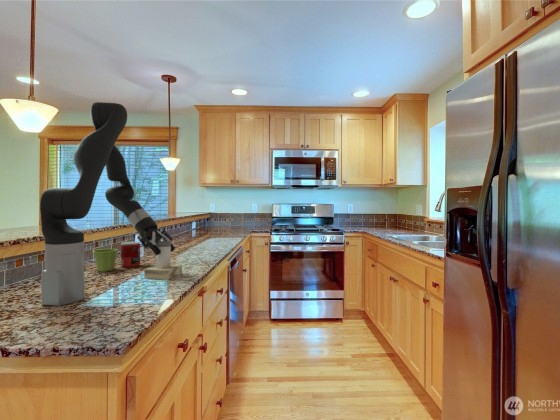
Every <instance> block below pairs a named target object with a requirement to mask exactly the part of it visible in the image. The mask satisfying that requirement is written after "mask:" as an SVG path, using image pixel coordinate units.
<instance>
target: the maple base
mask: <svg viewBox="0 0 560 420" xmlns="http://www.w3.org/2000/svg"><path fill="white" fill-rule="evenodd" d="M143 271H144V274H143V275H144V279H148V280H149V279H150V280H165V281H168V280H171V279H173V278H175V277H177V275H178V276H179V275H181V274H183V265H182V264H171V267H169V268H164V269H158V268H156V265H154V266H150V267H146V268H144V270H143Z"/></svg>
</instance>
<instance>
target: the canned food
mask: <svg viewBox="0 0 560 420" xmlns="http://www.w3.org/2000/svg"><path fill="white" fill-rule="evenodd" d="M140 265H141V242H140V241H123V242H121V243H120V267H121V268H123V269H133V268H138V267H140Z"/></svg>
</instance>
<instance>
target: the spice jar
mask: <svg viewBox="0 0 560 420" xmlns="http://www.w3.org/2000/svg"><path fill="white" fill-rule="evenodd" d="M171 243H172V241H171V242H170V241H165V240H164V241H161V242H155V245H156V246H157V247H158V248H159V249H160V251H161V253H160V254H159V255H156V254H155V266H156V268H158V269H164V268H169V267H171V265H172V264H171V262H172V261H171V260H172V259H171V258H172V257H171V256H172V255H171V254H172V252H171Z"/></svg>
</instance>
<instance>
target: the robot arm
mask: <svg viewBox="0 0 560 420" xmlns="http://www.w3.org/2000/svg"><path fill="white" fill-rule="evenodd" d="M90 117H91V120H92V121H91V122H92V125H93V127H94V131H92V132H91V133H89V134H87V135H86V136H84V138H82V139H81V141H80V142H79V143H78V145H77V147H76V149H75V151H74V153H73V161H74V164H75V165H74V166H75V168H76V170H77V172H78V174H79V178H78V181H77V183H76V184H75V186H74V187H52V188H51V187H50V188H47V189H45V190H44V191H43V193H42V195H41V196H40V200H39V201H40V202H39V211H40V223H41V226H40V227H41V232H42V233H41V234H42V236H43V238H44V270H42V271H41V273H40V274H41V275H40V276H41V279H40V281H41V285H40V286H41V290H40V291H41V305H45V306H53V307H55V306H56V307H60V306H64V305H69V304H72V303H76V302H79V301H82V300H83V299H85V234H84V232H83V231H81V230H79V229H75V228H73V227H72V226H70V225H69V224H68V223H67V220H81V219H84V218H85V217H87V215H88V214H89V212H90V210H91V208H92V204H93V201H94V198H95V195H96V194H95V193H96V190H97V187H98V185H99V182H100V178H101V177H102V174H103V171H104V169H106V175H107V176H106V177H107V179H108V181H111V182H119V184H120V185H116V186H111V187H109V188H107V189H106V190H105V192H104V193H105V195H104V197H105V199H106V200H107V202H108V203H109V204H110V205H111V206H113V207H114V208H116V209H117V210H118V211H120V212H121V213H123V214H124V216H125V217H126V218H127V220H128V221H129V223H130V224H131V226H132V227H133V229H135V231H136V232H137V233H138V235H137V240H138V242H140V245H142V246H143V248H144V249H147V248H148V249H150V250H151V251H152V252H153V253H154V254H155V256H156V255H159V254H160V253H161V251H160V249H159V248H158V247H157V246H156V242H161V241H170V242H171V253H173V252H174V251H175V250H176V247H175V246H174V244H173V242H172V241H173V240H174V239H173V238H172V237H171V235H170V234H169V233H168V232H167V230H165V229H163V230H161V231H160V230H159V229H158V224H157V223H156V221H155V220H154V219H153V218H152V216H151V215H150V214H149V213H148V212H147V211H146V210H145V209H144V207H143V206H142V205H141V203H139V202H138V201H137V200H133V199H134V197H135V191H134V188H133V185H132V184H131V181H130V180H129V177H128V176H129V175H128V174H127V167H126V161H125V158H124V156H123V154H122V153H121V151H120V150H119V148H118V147H117V146H116V145H115V144H116V142H117V140H118V138H119V137H120V135H121V133H122V132H123V131H124V128H126V124H127V121H128V111H127V109H126V108H125V106H124V105H123V104H120V103H116V102H99V101H98V102H96V101H95V102H93V103H92V104H91V106H90Z"/></svg>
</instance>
